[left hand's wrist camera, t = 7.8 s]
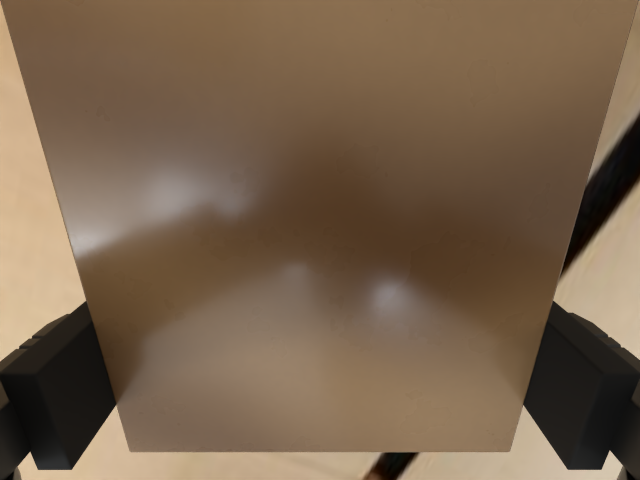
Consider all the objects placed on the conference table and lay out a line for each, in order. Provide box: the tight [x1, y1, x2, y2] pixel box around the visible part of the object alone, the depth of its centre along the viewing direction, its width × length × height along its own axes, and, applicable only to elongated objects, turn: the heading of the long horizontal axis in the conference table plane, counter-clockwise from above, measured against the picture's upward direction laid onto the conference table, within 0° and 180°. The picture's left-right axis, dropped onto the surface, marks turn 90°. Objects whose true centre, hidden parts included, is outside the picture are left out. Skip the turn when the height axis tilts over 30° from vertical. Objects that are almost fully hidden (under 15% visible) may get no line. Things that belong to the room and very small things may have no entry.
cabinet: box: [0, 0, 638, 452], centre depth 12 cm, size 17×11×11 cm, turn 0°
